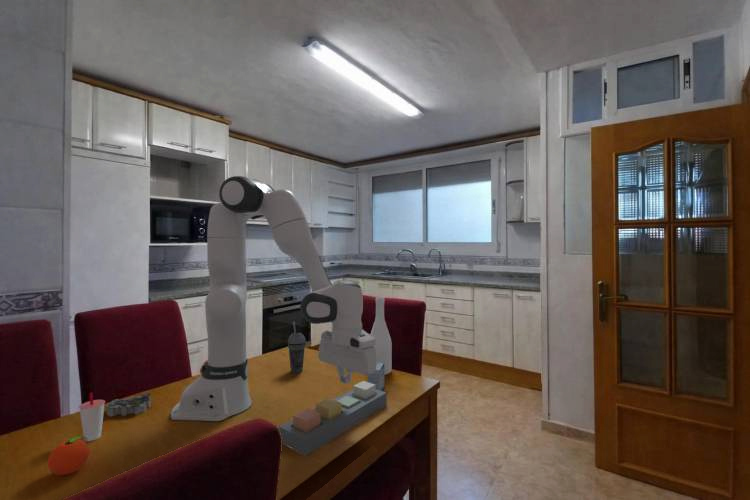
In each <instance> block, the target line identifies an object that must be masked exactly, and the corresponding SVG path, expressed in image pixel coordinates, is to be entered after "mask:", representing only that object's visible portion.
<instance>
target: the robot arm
mask: <svg viewBox="0 0 750 500" xmlns="http://www.w3.org/2000/svg"><path fill="white" fill-rule="evenodd" d="M218 191H219V193H218V194H219V195H218V196H219V199H220V202H217V203H215V204H213V205H212V206H211V208H210V211H209V215H208V221H207V233H206V235H207V236H206V237H207V238H206V239H207V240H206V246H207V248H206V249H207V254H206V255H207V257H206V258H207V267H208V275H209V292H208V294H207V295H206V296H205V297H206V298H205V301H204V302H205V303H204V306H205V308H204V309H205V311H204V312H205V321H206V325H205V326H206V331H207V333H206V334H207V359H206V360H205V361H204V362H203V364H202V365H201V367H200V368H199V374H201V375H200V376H199V377H198V378H196V379H195V380H194V381H192V382H191V383H190V384H189V385H188V386H187V387H186V388H184V390H183V392H182V394H181V395H180V396H181V397H180V398H179V399H180V401H179V402H178V403H177V404H176V405H175V406H174V407H173V408H172V410H171V412H170V418H171V420H173V421H174V420H176V421H179V420H180V421H209V422H220V421H223V420H225V419H228V418H229V417H231V416H234V415H238V414H240V413H243V412H244V411H247V410H248V409H249V408H250V406H252V403H253V402H252V398H251V395H250V391H249V384H248V376H249V363H248V358H247V324H246V320H247V319H246V318H247V317H246V313H247V311H246V309H247V308H246V307H247V306H246V304H247V299H248V294H247V293H248V292H247V291H248V289H247V247H246V246H247V245H246V244H247V243H246V242H247V241H246V240H247V238H246V237H247V235H246V233H247V232H246V231H247V230H246V228H247V227H246V226H247V223H248V221H249V220H250V219H251V220H256V219H259V218H263V217H264V218H265V219H266V222H267V224H268V226H269V229H270V231H271V235H272V238H273V240H274V243H276V245H277V247H278V249H279V250H280V251H281V252H282V253H283V254H285V255H287V256H289V257H290V258H292V259H293V260H294V261H295V262H297V263H298V264H299V265H300V267H301V268H302V270H303V272H304V274H305V277H306V279H307V281H308V285H309V286H310V288H311V292H309V293H308V294H307V295H305V296H304V297H303V298H302V299H301V302H300V308H299V309H300V313H301V316H302V318H303V319H304V320H305V321H306V322H307V323H310V324H314V325H320V324H326V323H331V331H328V330H325V331H323V332H322V334H321V336H320V342H319V347H318V352H317V353H318V354H317V355H318V359H319V362H323V363H326V364H329V365H332V366H335V367H336V371H337V374H338V376H339V382H340V383H343V384H345V385H349V384H350V383H351V381H352V380H351V378H352V376H353V375H354V373H357V374H359V375H363V376H366V377H368V375H370V374H373V373H374V372H375V370H376V350H375V348H374V347H373V345H375V343H376V339H375V338H374V337H373V336H371V335H370V333H368V332H367V331H365V330H364V329H363V323H362V314H363V311H364V298H363V297H364V295H363V289H362V287H361V285H359V284H358V283H357V282H354V281H351V280H346V279H345V280H344V279H339V280H336V281H335V282H334V283H332V282H331V281H330V277H328V273H327V272H326V269H325V267H324V264H323V263H322V260H321V258H320V255H319V253H318V250H317V248H316V244H315V241H314V239H313V235H312V232H311V229H310V226H309V224H308V223H309V222H308V221H307V217H306V215H305V213H304V211H303V209H302V206H301V204H300V203H299V201H298V199H297V197H296V196H295V194H294V193H293V192H292V191H291V190H288V189H282V188H281V189H276V190H275V189H274V188H273V187H272V186H271V185H269V184H267V183H264V182H262V181H260V180H259V179H254V178H248V177H246V176H241V175H237V176H236V175H235V176H230V177H228V178H227V179H225V180H224V181H222V183H221V185H220V188H219V190H218Z"/></svg>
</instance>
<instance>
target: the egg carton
mask: <svg viewBox="0 0 750 500" xmlns="http://www.w3.org/2000/svg"><path fill="white" fill-rule="evenodd" d="M152 395H153V394H152V392H146V393H145V392H144V393H142V394H141V395H136V396H134V397H126V398H123V399H119V398H118V399H116V398H115V399H114V400H113V399H112V401H110V402H108V403H107V404H106V405H105V407H106V416H109V417H114V416H118V415H121V416H124V417H125V416H127V415H130V414H134V415H135V416H137V415H139V414H142V413H145V412H146V411H147V408H150V407H151V397H152Z"/></svg>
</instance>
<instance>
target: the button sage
mask: <svg viewBox="0 0 750 500" xmlns="http://www.w3.org/2000/svg"><path fill="white" fill-rule="evenodd" d="M337 401H338V402H341V407H343V408H346V409H350V408H352V407H354V406H356V405H357V404H359V400H358V399H355V398H352V397H349V396H345V397H343V398H341V399H339V400H337Z"/></svg>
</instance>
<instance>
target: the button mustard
mask: <svg viewBox="0 0 750 500" xmlns="http://www.w3.org/2000/svg"><path fill="white" fill-rule="evenodd" d="M333 399H334V398H333ZM333 399H332V398H330V397H327V398H326V399H323V400H322V401H319V402H317V403H315V408H316V412H318V413H321V418H324V419H326V420H331V419H332V418H334V417H336V416H338V415H340V414H341V402H338V401H336V400H333Z"/></svg>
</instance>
